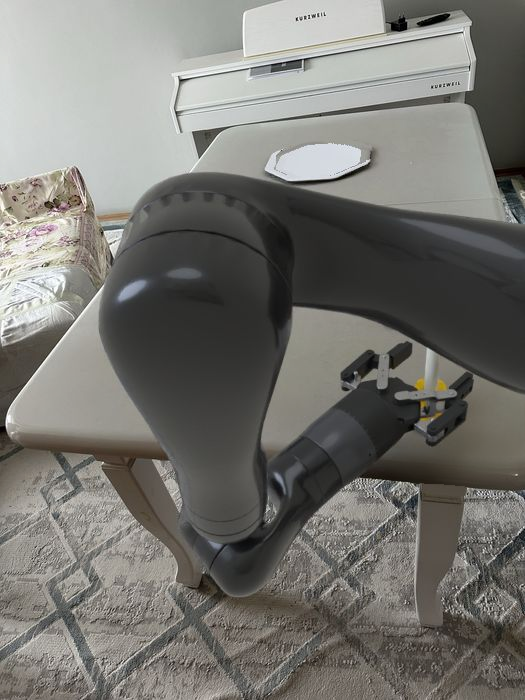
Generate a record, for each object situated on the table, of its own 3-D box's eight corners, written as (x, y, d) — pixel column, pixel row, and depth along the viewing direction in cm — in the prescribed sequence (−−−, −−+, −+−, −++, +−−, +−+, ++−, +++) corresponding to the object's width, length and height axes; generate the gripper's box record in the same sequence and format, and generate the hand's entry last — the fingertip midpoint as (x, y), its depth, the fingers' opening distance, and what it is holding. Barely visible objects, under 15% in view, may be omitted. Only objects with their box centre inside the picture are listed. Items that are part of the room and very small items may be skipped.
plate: (308, 195, 125) (308, 189, 124) (249, 167, 144) (248, 162, 143) (393, 157, 134) (393, 152, 133) (327, 136, 153) (326, 131, 152)
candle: (445, 401, 70) (455, 309, 60) (452, 431, 66) (464, 338, 56) (405, 402, 71) (409, 311, 61) (410, 432, 67) (414, 340, 57)
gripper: (401, 453, 50) (497, 364, 56) (299, 384, 59) (392, 315, 65) (399, 497, 54) (488, 411, 61) (305, 427, 64) (391, 359, 70)
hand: (438, 361), depth 63 cm, fingers open, 8 cm apart
